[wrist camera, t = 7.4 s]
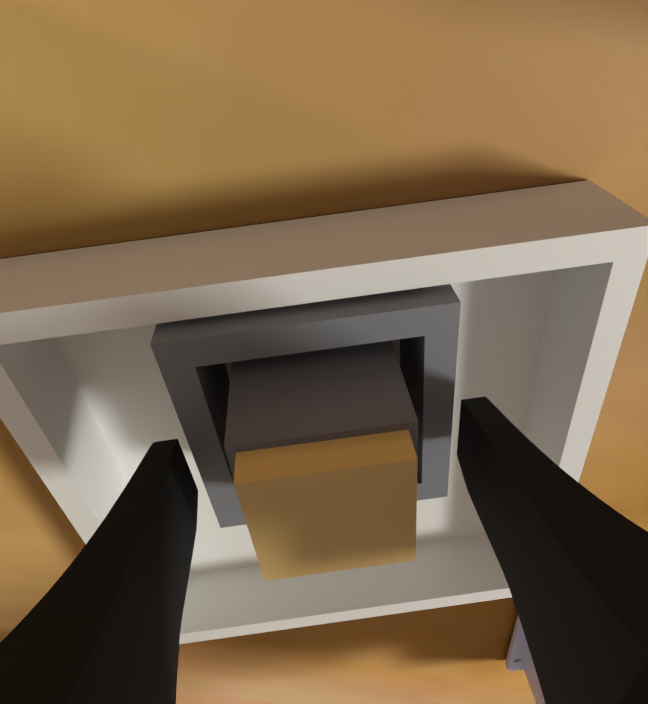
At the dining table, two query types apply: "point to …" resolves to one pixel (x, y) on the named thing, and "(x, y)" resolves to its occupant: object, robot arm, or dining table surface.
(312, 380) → the plug
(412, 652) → the dining table surface
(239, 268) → the walled box
